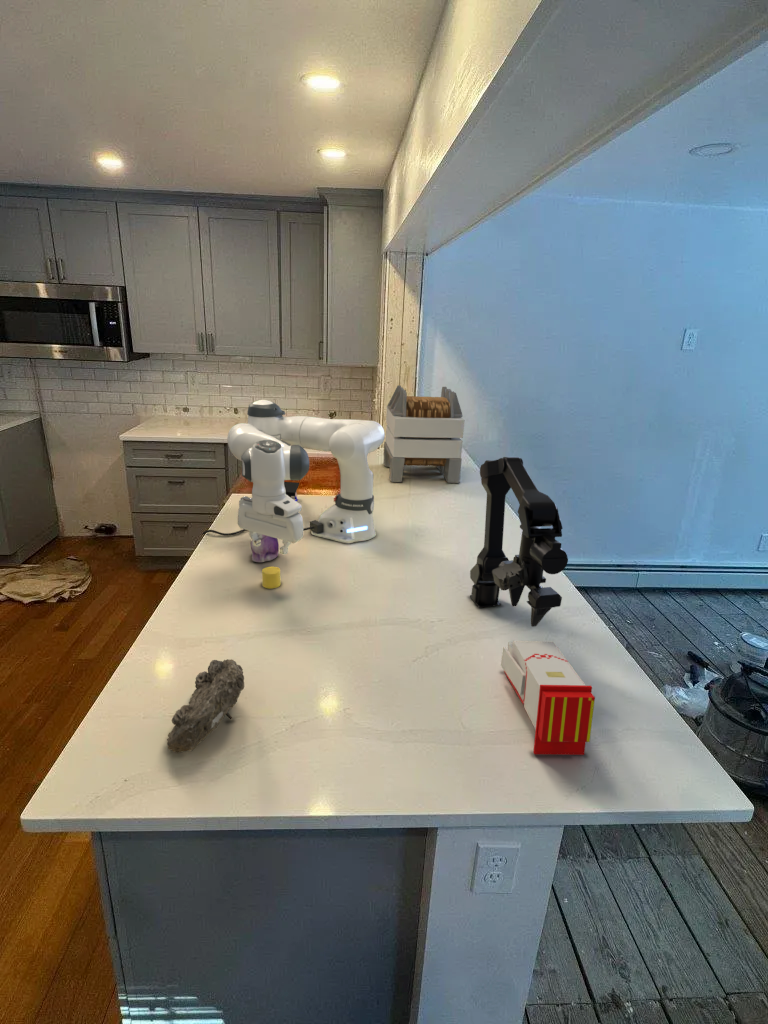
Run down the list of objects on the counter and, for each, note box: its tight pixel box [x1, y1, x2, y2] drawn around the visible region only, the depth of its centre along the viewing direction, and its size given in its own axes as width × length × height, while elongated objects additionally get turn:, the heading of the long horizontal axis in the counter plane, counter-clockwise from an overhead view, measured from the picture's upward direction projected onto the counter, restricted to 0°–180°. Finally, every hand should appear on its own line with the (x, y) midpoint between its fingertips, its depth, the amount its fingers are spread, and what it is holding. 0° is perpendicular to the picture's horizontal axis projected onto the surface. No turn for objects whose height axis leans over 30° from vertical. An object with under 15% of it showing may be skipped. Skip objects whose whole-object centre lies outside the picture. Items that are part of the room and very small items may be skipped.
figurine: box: [250, 533, 280, 563], centre depth 174 cm, size 9×10×15 cm
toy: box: [500, 640, 596, 756], centre depth 114 cm, size 12×13×30 cm
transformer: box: [383, 384, 465, 484], centre depth 268 cm, size 34×33×41 cm
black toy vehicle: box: [284, 481, 300, 502], centre depth 223 cm, size 7×8×15 cm
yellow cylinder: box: [261, 566, 282, 590], centre depth 159 cm, size 5×5×4 cm
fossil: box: [166, 658, 245, 754], centre depth 106 cm, size 22×10×15 cm
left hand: (270, 549), depth 156 cm, fingers open, 8 cm apart
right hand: (523, 615), depth 131 cm, fingers open, 9 cm apart
